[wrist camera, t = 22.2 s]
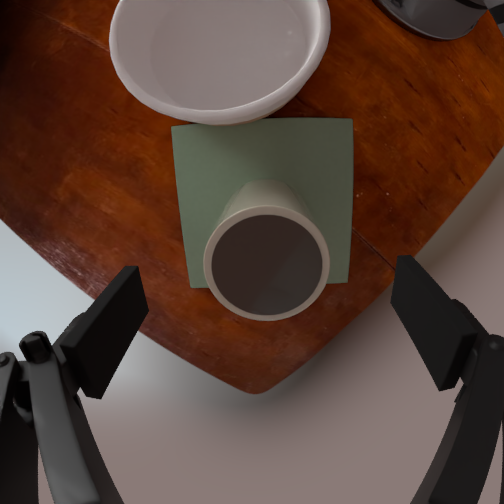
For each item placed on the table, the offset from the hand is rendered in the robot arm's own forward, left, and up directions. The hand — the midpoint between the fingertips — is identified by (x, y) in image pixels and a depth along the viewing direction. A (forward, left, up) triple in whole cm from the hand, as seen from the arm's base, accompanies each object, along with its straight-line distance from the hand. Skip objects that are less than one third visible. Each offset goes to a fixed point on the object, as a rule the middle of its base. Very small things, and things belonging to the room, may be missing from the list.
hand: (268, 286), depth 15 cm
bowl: (+3, -16, -18) cm, 24 cm away
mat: (0, +1, -18) cm, 18 cm away
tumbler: (0, +7, -12) cm, 14 cm away
